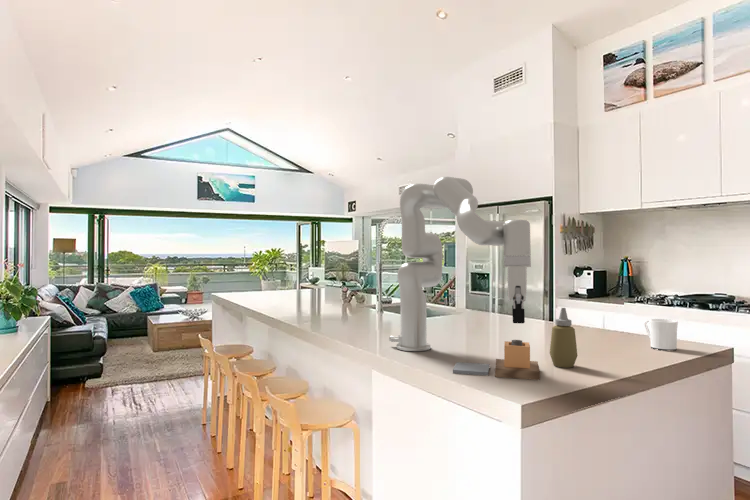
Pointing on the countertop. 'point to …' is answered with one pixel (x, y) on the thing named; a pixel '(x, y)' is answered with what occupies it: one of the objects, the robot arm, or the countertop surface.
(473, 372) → the pad
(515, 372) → the stand
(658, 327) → the mug
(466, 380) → the countertop surface
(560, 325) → the squeeze bottle
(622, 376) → the countertop surface
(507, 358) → the collar
